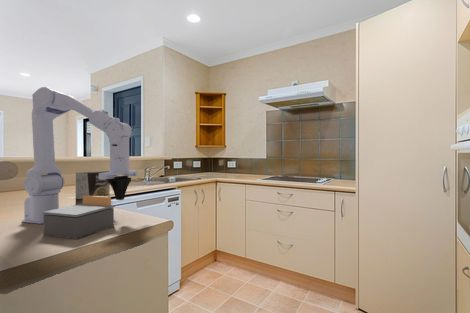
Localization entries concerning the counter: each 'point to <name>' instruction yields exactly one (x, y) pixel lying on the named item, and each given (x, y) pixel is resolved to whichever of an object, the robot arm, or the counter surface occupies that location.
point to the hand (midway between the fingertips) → (120, 199)
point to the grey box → (78, 224)
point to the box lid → (83, 207)
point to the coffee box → (91, 185)
